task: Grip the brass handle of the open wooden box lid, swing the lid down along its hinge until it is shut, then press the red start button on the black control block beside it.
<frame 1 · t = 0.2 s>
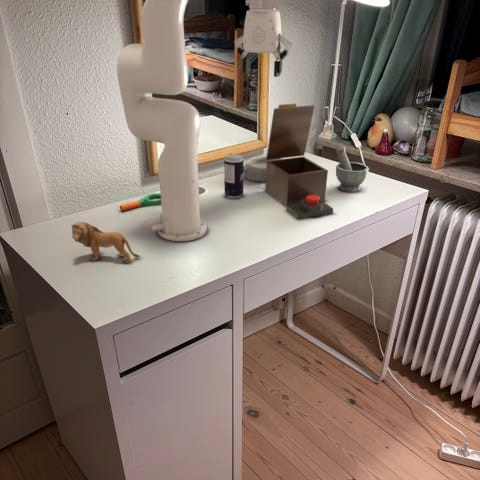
hand: (261, 74, 141), 31 cm above the table, tool pointing down, fingers open, 9 cm apart
lion figurine: (106, 259, 114), on the table
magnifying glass: (144, 205, 142), on the table
control block: (309, 212, 137), on the table
beverage can: (233, 196, 148), on the table
brown open box: (294, 196, 148), on the table
wooden box lid: (286, 129, 143), point 18 cm above the table, hinge at 75.0°
mortar and pestle: (347, 188, 154), on the table
start button: (312, 200, 134), point 4 cm above the table, slide at 0.1 cm
dish: (263, 177, 163), on the table
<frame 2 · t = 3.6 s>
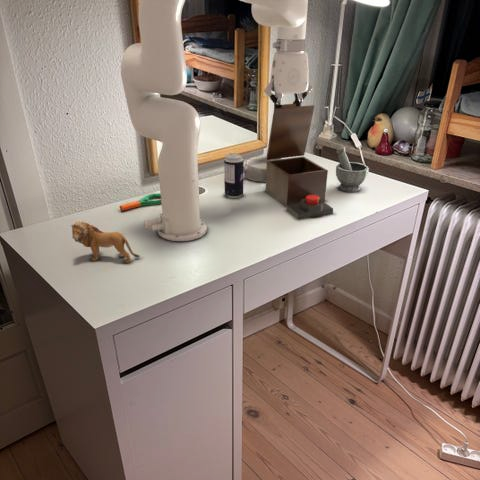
hand: (286, 117, 142), 21 cm above the table, tool pointing down, fingers closed on wooden box lid, 5 cm apart
wooden box lid: (286, 129, 143), point 18 cm above the table, hinge at 75.0°, touching gripper
everything else where it was.
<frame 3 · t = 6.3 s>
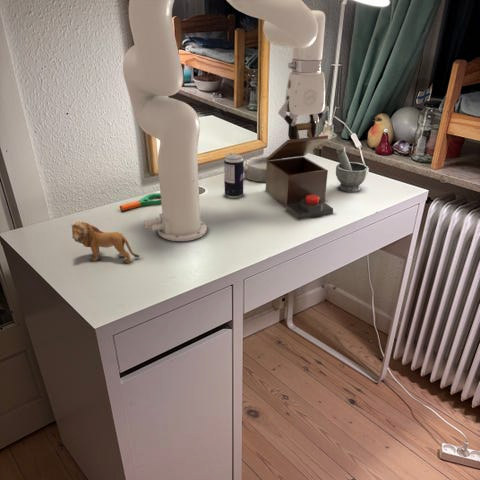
hand: (301, 138, 137), 17 cm above the table, tool pointing down, fingers closed on wooden box lid, 5 cm apart
wooden box lid: (294, 140, 140), point 16 cm above the table, hinge at 33.1°, touching gripper
everything else where it was.
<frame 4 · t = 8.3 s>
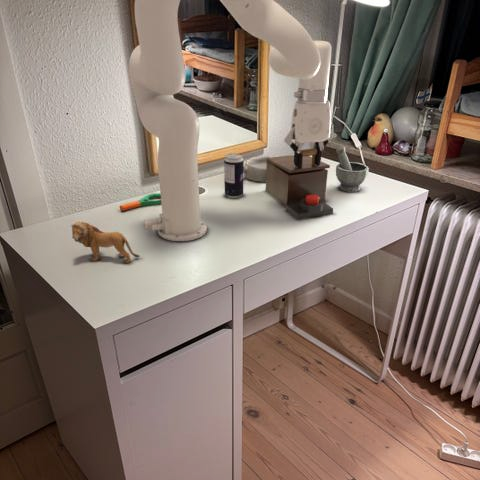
hand: (307, 164, 137), 11 cm above the table, tool pointing down, fingers closed on wooden box lid, 5 cm apart
wooden box lid: (297, 154, 141), point 12 cm above the table, hinge at 3.1°, touching gripper
everything else where it was.
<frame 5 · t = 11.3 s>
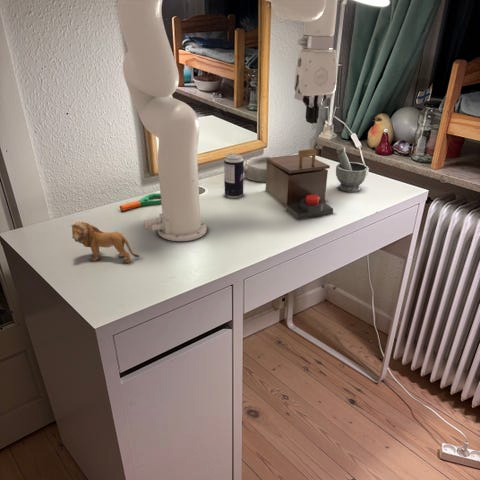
hand: (311, 122, 130), 23 cm above the table, tool pointing down, fingers closed
wooden box lid: (297, 154, 141), point 12 cm above the table, hinge at 2.7°
everything else where it was.
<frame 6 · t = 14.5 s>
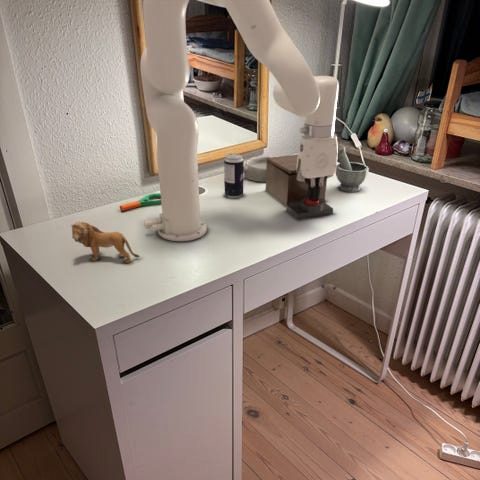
hand: (313, 199, 134), 4 cm above the table, tool pointing down, fingers closed
start button: (312, 202, 135), point 3 cm above the table, slide at -0.7 cm, touching gripper
everything else where it was.
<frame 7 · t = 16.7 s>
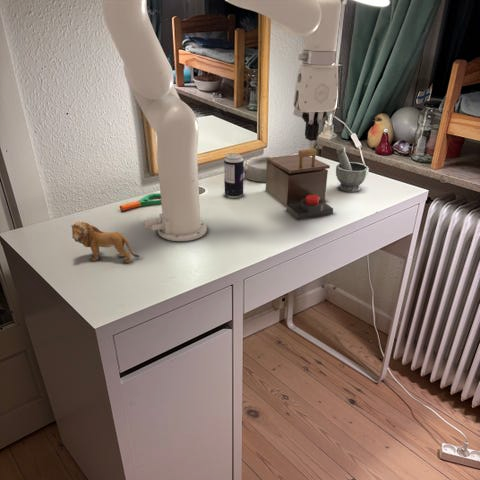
hand: (310, 139, 125), 20 cm above the table, tool pointing down, fingers closed
start button: (312, 200, 134), point 4 cm above the table, slide at 0.1 cm
everything else where it was.
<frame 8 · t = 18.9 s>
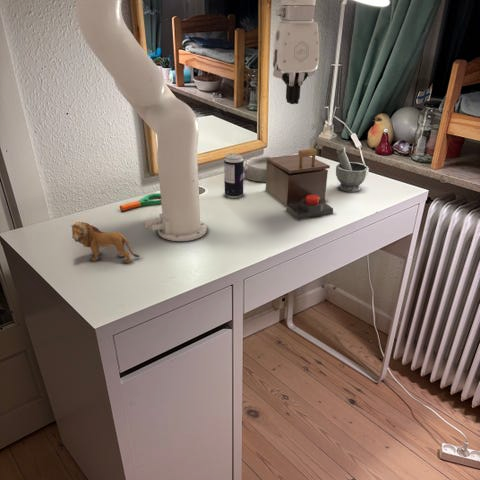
hand: (292, 102, 119), 29 cm above the table, tool pointing down, fingers closed
nothing on the table moved.
at the end: wooden box lid at +3° (first picture: +75°); start button pushed in 0.8 cm at the most during the clip, back to where it started at the end; start button slide at 0.1 cm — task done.
